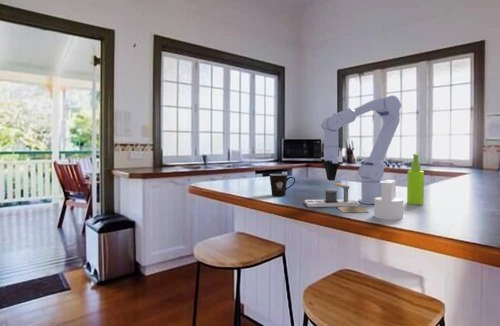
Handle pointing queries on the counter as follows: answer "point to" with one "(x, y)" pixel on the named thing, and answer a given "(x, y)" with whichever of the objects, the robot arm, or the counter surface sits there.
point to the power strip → (339, 203)
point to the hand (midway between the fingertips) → (331, 180)
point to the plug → (331, 196)
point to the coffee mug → (279, 184)
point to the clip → (342, 186)
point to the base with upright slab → (388, 202)
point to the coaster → (352, 210)
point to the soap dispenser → (415, 183)
